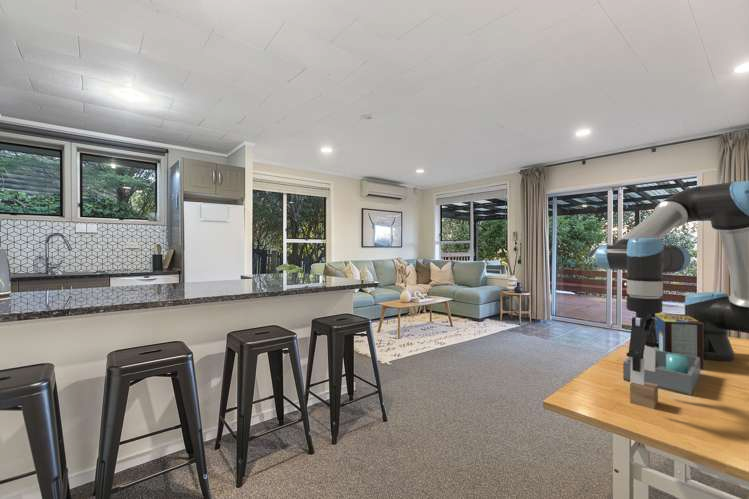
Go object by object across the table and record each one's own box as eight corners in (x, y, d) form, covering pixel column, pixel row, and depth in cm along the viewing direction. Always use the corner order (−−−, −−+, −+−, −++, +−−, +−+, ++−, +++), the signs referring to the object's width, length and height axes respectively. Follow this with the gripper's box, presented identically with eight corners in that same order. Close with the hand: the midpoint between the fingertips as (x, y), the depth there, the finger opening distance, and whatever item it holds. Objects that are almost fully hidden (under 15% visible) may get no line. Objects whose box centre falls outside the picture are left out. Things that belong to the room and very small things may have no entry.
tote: (639, 363, 123) (639, 347, 123) (700, 375, 112) (700, 357, 112) (623, 380, 109) (623, 362, 109) (690, 395, 97) (690, 375, 97)
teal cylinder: (692, 381, 105) (692, 358, 105) (677, 382, 105) (677, 359, 105) (676, 375, 110) (676, 353, 110) (661, 376, 110) (661, 353, 110)
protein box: (686, 355, 130) (686, 314, 130) (703, 369, 116) (704, 323, 116) (651, 352, 135) (651, 312, 134) (664, 365, 121) (664, 320, 120)
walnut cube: (634, 397, 97) (634, 379, 97) (657, 403, 93) (657, 384, 93) (630, 403, 94) (630, 384, 94) (653, 409, 90) (653, 390, 90)
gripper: (637, 290, 104) (637, 362, 104) (613, 299, 87) (613, 384, 88) (670, 293, 98) (670, 368, 99) (651, 303, 82) (651, 394, 82)
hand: (643, 376), depth 93 cm, fingers open, 13 cm apart
